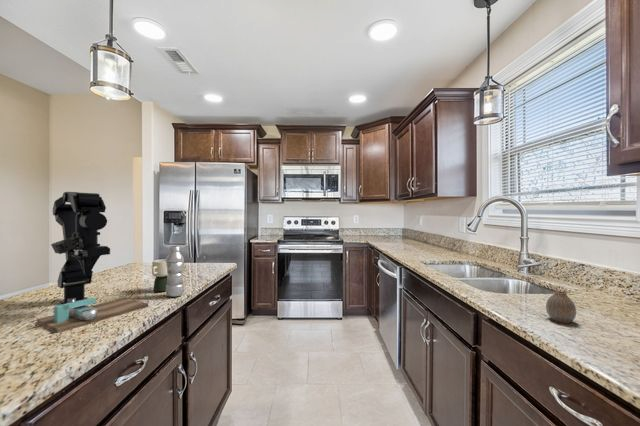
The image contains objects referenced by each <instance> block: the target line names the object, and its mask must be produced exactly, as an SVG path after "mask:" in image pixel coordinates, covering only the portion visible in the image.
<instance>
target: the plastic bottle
mask: <svg viewBox="0 0 640 426" xmlns="http://www.w3.org/2000/svg"><path fill="white" fill-rule="evenodd" d="M165 259H166V266H167V273H168V274H167V276H168V277H167V286H166V290H165V294H166V295H167V297H173V298H175V297H179V296H182V295H183V294H184V292H185V284H184V277H183V271H184V261H185V258H184V256H183V254H182V253H181V245H170V246H169V253H168V255H167V256H166V257H165Z"/></svg>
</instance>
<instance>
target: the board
mask: <svg viewBox="0 0 640 426" xmlns="http://www.w3.org/2000/svg"><path fill="white" fill-rule="evenodd" d="M89 306H90V307H93V308H97V318H95V319H92V320H85V321H84V320H80V319H77V318H74V317H71V316H69V320H67V321H63V322H60V323H56V322H54V314H53V315H49V316H45V317H42V318H41V317H40V318H37V319H36V323H37V324H39V325H41V326H43V327H45V328H47V329H49V330H51V331H53V332H54V333H56V334H58V333H62V332H66V331H69V330H73V329H76V328H79V327H83V326H87V325H90V324H93V323H97V322H99V321H103V320H107V319H110V318H113V317H117V316H121V315H123V314H128V313H130V312H134V311H137V310H141V309H144V308H145V309H146V308H148V307H149V303H148V302H143V301H140V300H137V299H133V298H130V297H129V298H128V297H123V298H118V299H114V300H110V301H105V302H101V303H97V304H94V305H89Z"/></svg>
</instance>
